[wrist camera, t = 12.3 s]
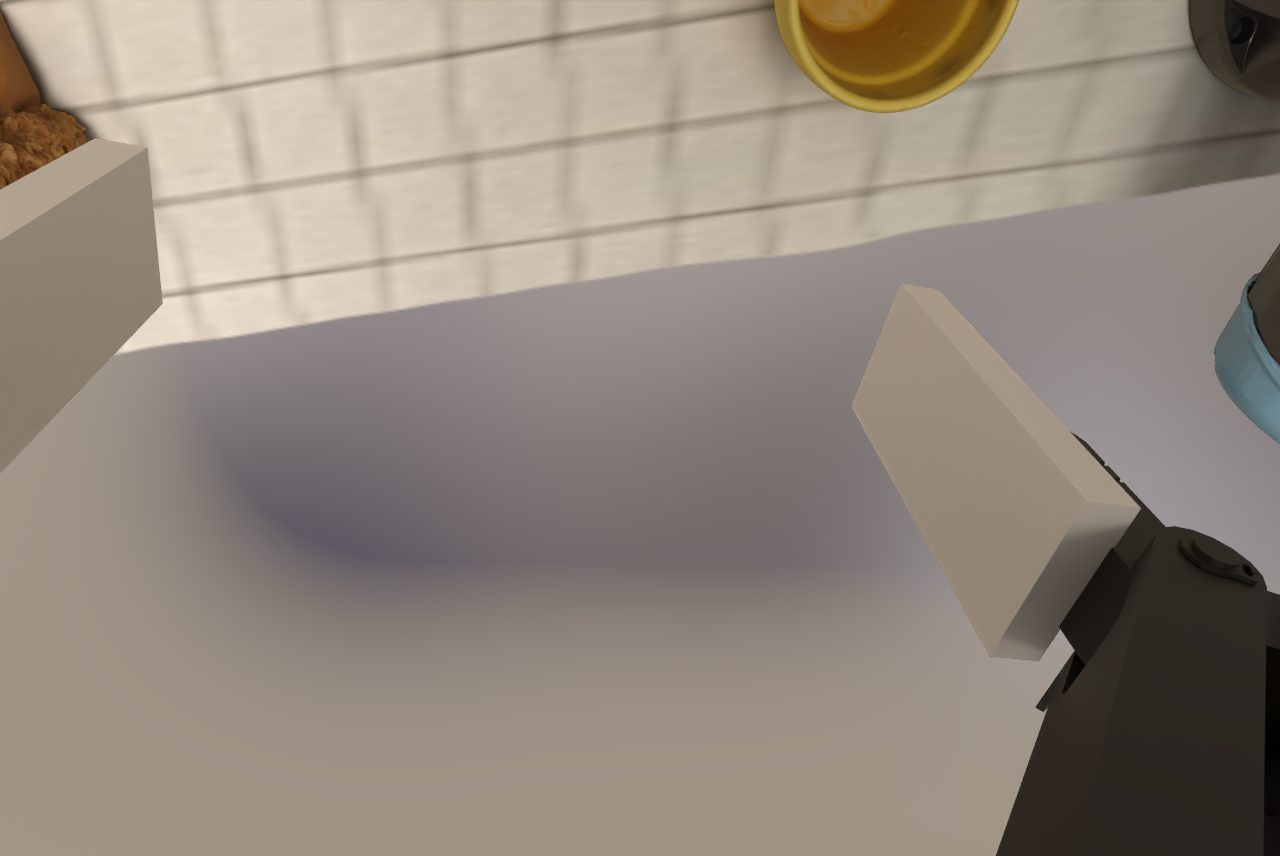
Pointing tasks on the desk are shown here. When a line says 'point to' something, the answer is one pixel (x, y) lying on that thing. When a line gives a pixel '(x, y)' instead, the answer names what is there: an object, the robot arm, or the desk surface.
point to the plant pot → (891, 46)
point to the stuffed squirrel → (28, 119)
